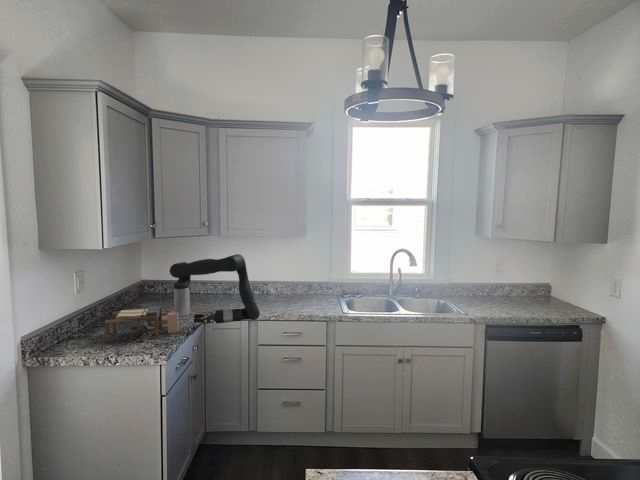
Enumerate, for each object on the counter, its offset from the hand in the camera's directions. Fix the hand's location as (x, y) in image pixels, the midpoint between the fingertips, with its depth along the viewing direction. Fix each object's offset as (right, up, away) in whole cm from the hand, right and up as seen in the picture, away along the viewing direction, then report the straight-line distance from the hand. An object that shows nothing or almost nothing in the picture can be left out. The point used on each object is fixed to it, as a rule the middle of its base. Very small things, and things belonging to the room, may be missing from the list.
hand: (193, 318), depth 202 cm
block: (-10, -6, -3) cm, 12 cm away
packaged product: (-21, -6, +10) cm, 24 cm away
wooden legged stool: (-28, -7, -10) cm, 30 cm away
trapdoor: (-26, +2, -9) cm, 27 cm away
